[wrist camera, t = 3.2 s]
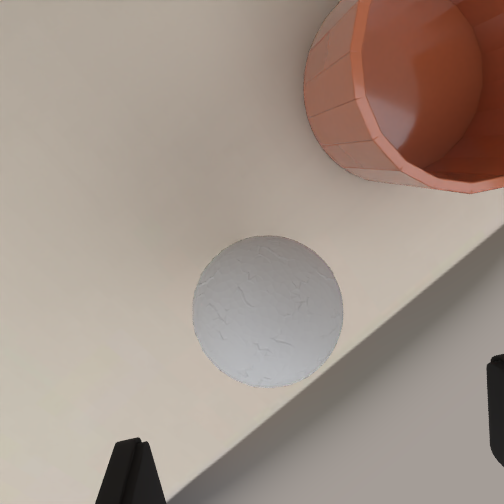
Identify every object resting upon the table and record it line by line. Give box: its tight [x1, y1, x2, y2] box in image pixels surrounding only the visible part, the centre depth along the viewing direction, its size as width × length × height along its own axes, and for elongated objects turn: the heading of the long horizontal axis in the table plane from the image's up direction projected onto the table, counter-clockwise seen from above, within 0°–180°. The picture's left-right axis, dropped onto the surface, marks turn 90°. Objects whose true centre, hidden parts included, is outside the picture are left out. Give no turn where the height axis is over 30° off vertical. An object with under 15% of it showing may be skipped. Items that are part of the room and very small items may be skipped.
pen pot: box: [303, 0, 504, 194], centre depth 24 cm, size 14×14×10 cm
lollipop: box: [193, 236, 343, 388], centre depth 23 cm, size 7×7×15 cm
